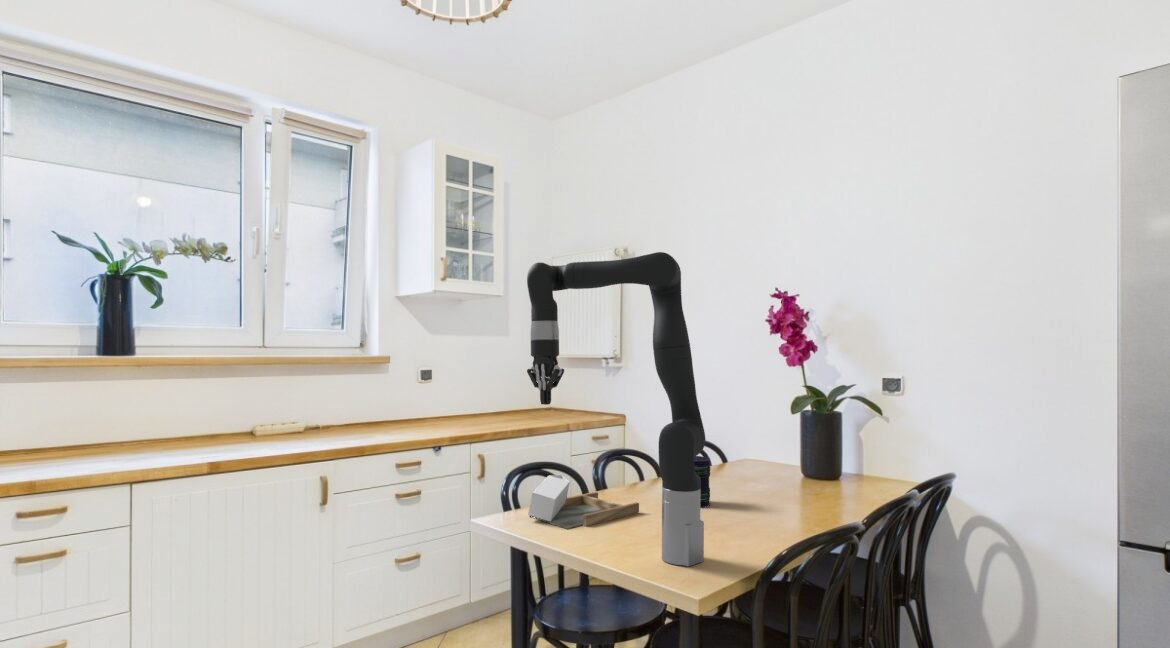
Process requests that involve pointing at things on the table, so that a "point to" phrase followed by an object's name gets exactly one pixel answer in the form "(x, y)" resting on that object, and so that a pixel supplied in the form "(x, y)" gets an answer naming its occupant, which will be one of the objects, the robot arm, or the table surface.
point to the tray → (589, 511)
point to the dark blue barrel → (703, 478)
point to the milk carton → (549, 497)
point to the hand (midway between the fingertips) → (545, 404)
